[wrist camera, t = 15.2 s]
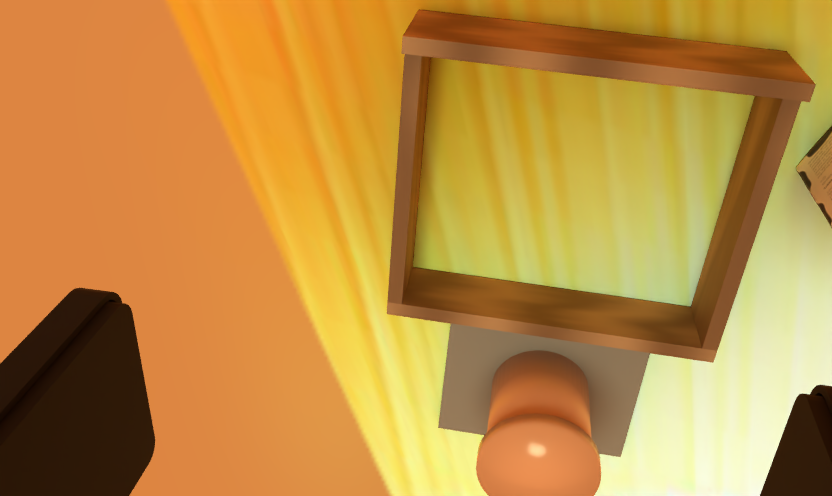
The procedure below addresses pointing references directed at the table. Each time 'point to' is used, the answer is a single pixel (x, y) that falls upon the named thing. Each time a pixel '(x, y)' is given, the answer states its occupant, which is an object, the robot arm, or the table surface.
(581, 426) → the terracotta pot
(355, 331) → the table surface
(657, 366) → the table surface
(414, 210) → the frame
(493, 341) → the mat
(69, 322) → the robot arm
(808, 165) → the candy box
